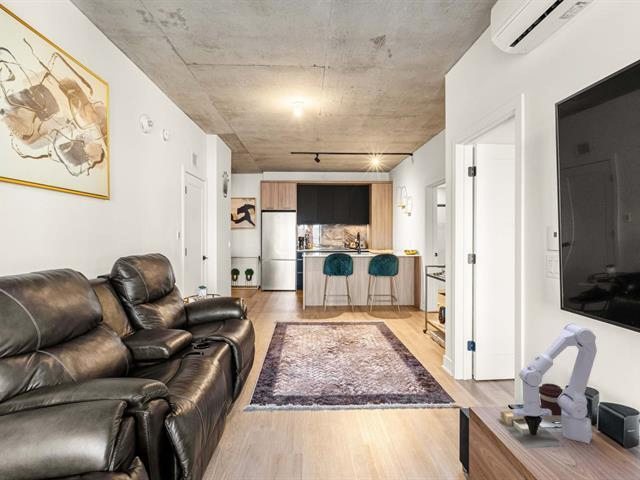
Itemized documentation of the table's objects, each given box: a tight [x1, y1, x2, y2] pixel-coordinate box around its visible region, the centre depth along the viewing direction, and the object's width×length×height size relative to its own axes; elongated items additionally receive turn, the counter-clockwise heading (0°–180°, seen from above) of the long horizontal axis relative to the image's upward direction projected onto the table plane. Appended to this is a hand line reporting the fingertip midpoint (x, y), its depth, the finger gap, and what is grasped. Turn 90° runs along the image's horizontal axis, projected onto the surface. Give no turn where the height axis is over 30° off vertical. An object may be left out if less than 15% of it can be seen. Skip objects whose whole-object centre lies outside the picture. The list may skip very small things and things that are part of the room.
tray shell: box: [512, 419, 539, 435], centre depth 153 cm, size 12×6×2 cm, turn 1°
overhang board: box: [496, 408, 566, 449], centre depth 150 cm, size 23×15×5 cm, turn 1°
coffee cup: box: [539, 383, 563, 423], centre depth 159 cm, size 10×10×15 cm
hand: (533, 434), depth 146 cm, fingers closed, pressing on tray shell
